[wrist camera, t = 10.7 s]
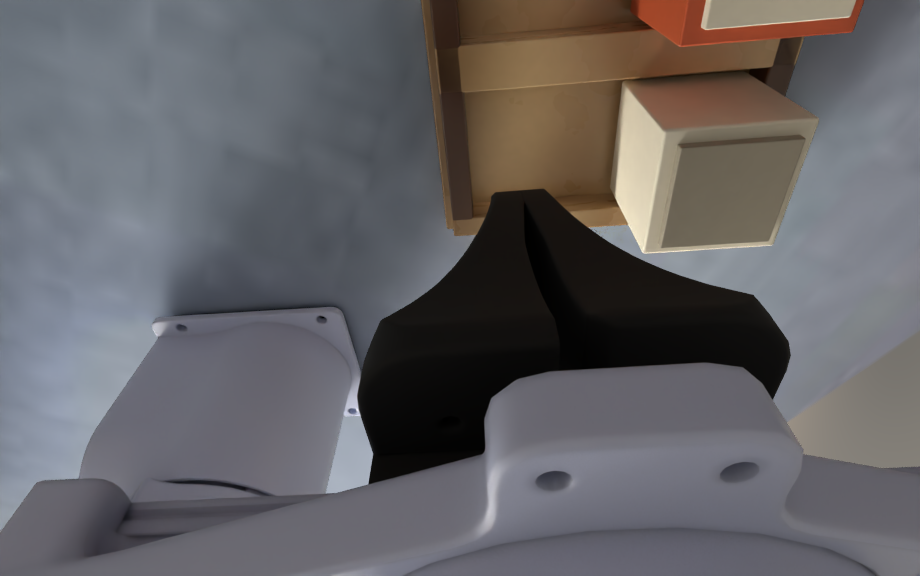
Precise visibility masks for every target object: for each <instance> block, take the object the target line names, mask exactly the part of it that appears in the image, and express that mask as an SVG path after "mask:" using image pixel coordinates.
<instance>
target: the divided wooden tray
mask: <svg viewBox="0 0 920 576" xmlns="http://www.w3.org/2000/svg"><path fill="white" fill-rule="evenodd" d="M421 6H422V14H423V23H424V32H425V41H426V49H427V58H428V67H429V75H430V84H431V93H432V102H433V110H434V119H435V128H436V137H437V145H438V154H439V163H440V172H441V180H442V189H443V198H444V207H445V215H446V224H447V228H448V229H453V230H454V235H455V236H465V235H477V233H478V231H479V229H480V227H481V225H482V223H483V221H484V219H485V217H486V214H487V212H488V209H489V206H490V202H491V196H492V195H493V194H494V193H495V192H505V191H518V190H531V189H545V190H546V191H547V192H548V193H549V194H550V195H552V196H553V197H554V198H555V199H556V200H557V201H558V202H559V203H560V204H561V205H562V206H563V207H564V208H565V209H566V210H567V211H568V212H570V213H571V214H572V215H573V216H574V217H575V218H577V219H578V220H579V221H580V222H581V223H583V224H584V225H585V226H587V227H601V226H616V225H628V223H627V221H626V219H625V217H624V215H623V213H622V211H621V209H620V207H619V205H618V203H617V201H616V199H615V197H614V195H613V193H612V191H611V189H610V183H611V175H612V166H613V157H614V149H615V140H616V132H617V123H618V114H619V106H620V97H621V89H622V83H623V81H625V80H638V79H650V78H662V77H674V76H686V75H698V74H711V73H723V72H735V71H745V72H746V73H748V74H750V75H751V76H753V77H754V78H756V79H758V80H759V81H761V82H762V83H764V84H766V85H767V86H769V87H770V88H772V89H774V90H775V91H777V92H778V93H780V94H781V95H783V96H785V95H786V92H787V89H788V86H789V82H790V79H791V76H792V73H793V70H794V67H795V64H796V62H797V59H798V55H799V52H800V49H801V46H802V43H803V40H804V37H805V36H803V37H792V38H780V39H768V40H757V41H745V42H733V43H721V44H710V45H698V46H686V47H679V46H678V45H676V44H675V43H674V42H672V41H671V40H669V39H668V38H666V37H665V36H664V35H662V34H661V33H659V32H658V31H657V30H655V29H654V28H652V27H651V26H649V25H648V24H647V23H645V22H644V21H642V20H641V19H639V18H638V17H637V16H635V15H634V14H632V13H631V12H630V9H631V0H421Z"/></svg>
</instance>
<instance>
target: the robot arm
mask: <svg viewBox="0 0 920 576" xmlns="http://www.w3.org/2000/svg"><path fill="white" fill-rule="evenodd" d="M319 316H324V317H325V319H324V318H321V317H319ZM181 324H182V325H181ZM183 325H184V326H183ZM152 329H153V331H154V332H155V334H156V335H157V337H158V339H157V341H156V342H155V344H154V345H153V347H152V348H151V349H150V351H149V352H148V354H147V355H146V357H145V358H144V360H143V361H142V362H141V364H140V365H139V367H138V368H137V370H136V371H135V373H134V374H133V376H132V377H131V378H130V380H129V381H128V383H127V384H126V386H125V387H124V389H123V390H122V392H121V393H120V394H119V396H118V397H117V399H116V400H115V402H114V403H113V405H112V406H111V407H110V409H109V410H108V412H107V413H106V415H105V416H104V418H103V419H102V421H101V422H100V423H99V425H98V426H97V428H96V430H95V431H94V433H93V435H92V437H91V438H90V441H89V443H88V445H87V448H86V450H85V454H84V457H83V460H82V464H81V469H80V475H79V479H65V480H44V481H40V482H37V483H36V484H35V485H34V487H33V488H32V489H31V491H30V492H29V494H28V495H27V496H26V498H25V499H24V500H23V502H22V503H21V505H20V506H19V507H18V509H17V510H16V511H15V513H14V514H13V516H12V517H11V518H10V520H9V521H8V522H7V524H6V525H5V527H4V528H3V529H2V531H1V532H0V576H920V467H901V468H877V467H872V466H866V465H860V464H855V463H850V462H844V461H839V460H833V459H827V458H822V457H816V456H811V455H805V454H803V448H802V447H801V445H800V443H799V442H798V440H797V439H796V437H795V435H794V434H793V432H792V431H791V429H790V427H789V426H788V424H787V422H786V421H785V419H784V418H783V416H782V414H781V413H780V411H779V410H778V408H777V406H776V405H775V403H774V402H773V398H774V396H775V394H776V392H777V390H778V388H779V385H780V383H781V381H782V379H783V377H784V375H785V373H786V370H787V367H788V363H789V360H790V356H791V355H790V348H789V342H788V340H787V339H786V337H785V336H784V334H783V333H782V332H781V330H780V329H779V327H778V326H777V324H776V323H775V322H774V320H773V319H772V317H771V316H770V314H769V313H768V312H767V311H766V309H765V308H764V307H763V306H762V304H761V303H760V302H759V301H758V300H757V299H756V298H755V297H754V295H751V294H747V293H742V292H738V291H734V290H730V289H725V288H721V287H717V286H713V285H709V284H705V283H702V282H698V281H695V280H692V279H689V278H686V277H683V276H680V275H677V274H674V273H672V272H669V271H666V270H664V269H661V268H659V267H656V266H654V265H652V264H650V263H647V262H645V261H643V260H641V259H639V258H636V257H634V256H632V255H630V254H629V253H627V252H625V251H623V250H622V249H620V248H618V247H616V246H614V245H613V244H611V243H609V242H608V241H606V240H605V239H603V238H602V237H600V236H599V235H598V234H596V233H595V232H593V231H592V230H591V229H589V228H588V227H587V226H585V225H584V224H583V223H581V222H580V221H579V220H578V219H577V218H575V217H574V216H573V215H572V214H571V213H570V212H568V211H567V210H566V209H565V208H564V207H563V206H562V205H561V204H560V203H559V202H558V201H557V200H556V199H555V198H554V197H553V196H552V195H550V194H549V193H548V192H547V191H546V190H545V189H531V190H518V191H505V192H495V193H494V194H493V195H492V196H491V202H490V206H489V209H488V212H487V214H486V217H485V219H484V221H483V223H482V225H481V227H480V229H479V231H478V233H477V235H476V236H475V238H474V240H473V241H472V243H471V244H470V246H469V248H468V249H467V251H466V252H465V253H464V255H463V256H462V257H461V259H460V260H459V261H458V262H457V264H456V265H455V266H454V267H453V268H452V270H451V271H450V272H449V273H448V274H447V275H446V276H445V277H444V278H443V279H442V280H441V281H440V282H439V283H438V284H437V285H435V286H434V287H433V288H432V289H430V290H429V291H428V292H427V293H425V294H424V295H422V296H421V297H419V298H418V299H417V300H415V301H414V302H412V303H411V304H409V305H407V306H405V307H404V308H402V309H400V310H398V311H397V312H395V313H393V314H391V315H390V316H388V317H386V318H384V319H382V320H381V321H380V323H379V325H378V327H377V330H376V332H375V334H374V337H373V339H372V341H371V344H370V347H369V349H368V352H367V354H366V357H365V360H364V364H363V368H362V373H361V371H360V367H359V364H358V361H357V357H356V354H355V351H354V348H353V344H352V341H351V338H350V334H349V331H348V328H347V325H346V321H345V318H344V315H343V313H342V311H341V310H340V309H338V308H336V307H320V308H303V309H286V310H269V311H252V312H236V313H219V314H202V315H185V316H168V317H158V318H156V319H155V320H154V322H153V323H152ZM343 416H361V418H362V421H363V424H364V427H365V430H366V433H367V436H368V439H369V442H370V445H371V448H372V451H373V459H372V465H371V472H370V478H369V485H365V486H361V487H357V488H354V489H350V490H346V491H342V492H338V493H329V494H326V489H327V485H328V481H329V476H330V472H331V468H332V463H333V459H334V455H335V450H336V446H337V442H338V437H339V433H340V429H341V424H342V420H343Z"/></svg>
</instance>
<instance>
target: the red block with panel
mask: <svg viewBox="0 0 920 576" xmlns="http://www.w3.org/2000/svg"><path fill="white" fill-rule="evenodd" d="M863 3H864V0H631V9H630V12H631V13H632V14H634V15H635V16H637V17H638V18H639V19H641V20H642V21H644V22H645V23H647V24H648V25H649V26H651V27H652V28H654V29H655V30H657V31H658V32H659V33H661V34H662V35H664V36H665V37H666V38H668V39H669V40H671V41H672V42H674V43H675V44H676V45H678V46H679V47H686V46H698V45H710V44H721V43H733V42H745V41H757V40H768V39H780V38H792V37H803V36H815V35H827V34H839V33H850V32H852V31H853V30H854V27H855V25H856V22H857V19H858V17H859V14H860V11H861V8H862V6H863Z"/></svg>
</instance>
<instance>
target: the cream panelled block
mask: <svg viewBox="0 0 920 576" xmlns="http://www.w3.org/2000/svg"><path fill="white" fill-rule="evenodd" d="M818 122H819V118H818V117H817V116H815V115H813V114H812V113H810V112H809V111H807V110H805V109H804V108H802V107H801V106H799V105H797V104H796V103H794V102H793V101H791V100H789V99H788V98H786V97H785V96H783V95H781V94H780V93H778V92H777V91H775V90H774V89H772V88H770V87H769V86H767V85H766V84H764V83H762V82H761V81H759V80H758V79H756V78H754V77H753V76H751V75H750V74H748V73H746V72H745V71H735V72H723V73H711V74H698V75H686V76H674V77H662V78H650V79H638V80H625V81H623V83H622V89H621V97H620V106H619V114H618V123H617V132H616V140H615V149H614V157H613V166H612V175H611V183H610V189H611V191H612V193H613V195H614V197H615V199H616V201H617V203H618V205H619V207H620V209H621V211H622V213H623V215H624V217H625V219H626V221H627V223H628V225H629V227H630V229H631V231H632V233H633V235H634V237H635V239H636V241H637V243H638V245H639V247H640V249H641V251H642V252H643V253H660V252H676V251H692V250H708V249H724V248H740V247H755V246H771V245H773V244H774V241H775V238H776V236H777V233H778V230H779V228H780V225H781V222H782V220H783V217H784V214H785V211H786V209H787V206H788V203H789V201H790V198H791V195H792V193H793V190H794V187H795V184H796V182H797V179H798V176H799V174H800V171H801V168H802V166H803V163H804V160H805V157H806V155H807V152H808V149H809V147H810V144H811V141H812V139H813V136H814V133H815V130H816V128H817V125H818Z"/></svg>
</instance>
